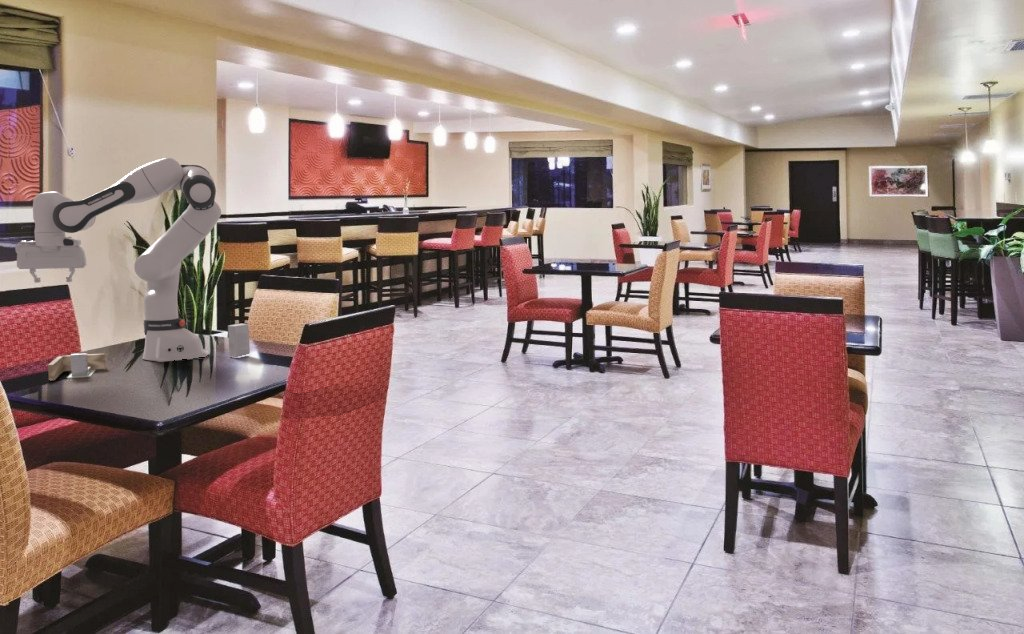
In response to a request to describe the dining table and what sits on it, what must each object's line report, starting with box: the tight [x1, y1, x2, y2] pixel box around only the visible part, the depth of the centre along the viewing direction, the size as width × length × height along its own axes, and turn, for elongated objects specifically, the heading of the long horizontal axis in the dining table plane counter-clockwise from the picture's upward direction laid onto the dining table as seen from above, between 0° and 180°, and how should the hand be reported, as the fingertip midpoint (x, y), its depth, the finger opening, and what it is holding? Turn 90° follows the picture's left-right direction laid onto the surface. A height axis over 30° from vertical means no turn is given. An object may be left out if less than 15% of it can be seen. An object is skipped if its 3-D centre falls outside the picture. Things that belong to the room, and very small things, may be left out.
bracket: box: [69, 353, 91, 376], centre depth 260 cm, size 8×4×7 cm, turn 19°
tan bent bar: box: [47, 353, 107, 382], centre depth 260 cm, size 14×16×5 cm
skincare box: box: [227, 323, 251, 357], centre depth 289 cm, size 6×4×12 cm
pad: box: [66, 369, 97, 379], centre depth 260 cm, size 7×11×1 cm, turn 19°
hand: (53, 282), depth 267 cm, fingers open, 8 cm apart
